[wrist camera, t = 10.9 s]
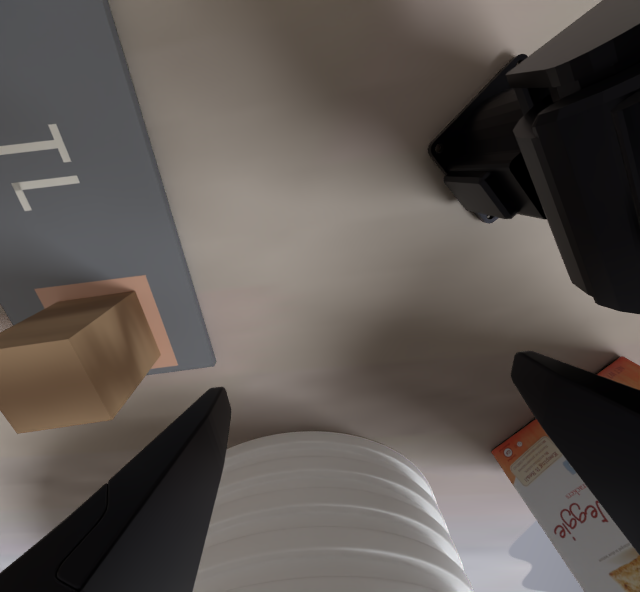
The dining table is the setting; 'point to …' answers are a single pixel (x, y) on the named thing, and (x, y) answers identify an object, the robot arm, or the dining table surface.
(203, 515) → the robot arm
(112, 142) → the board
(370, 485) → the plate stack
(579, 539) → the cracker box
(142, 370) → the walnut block
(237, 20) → the dining table surface
